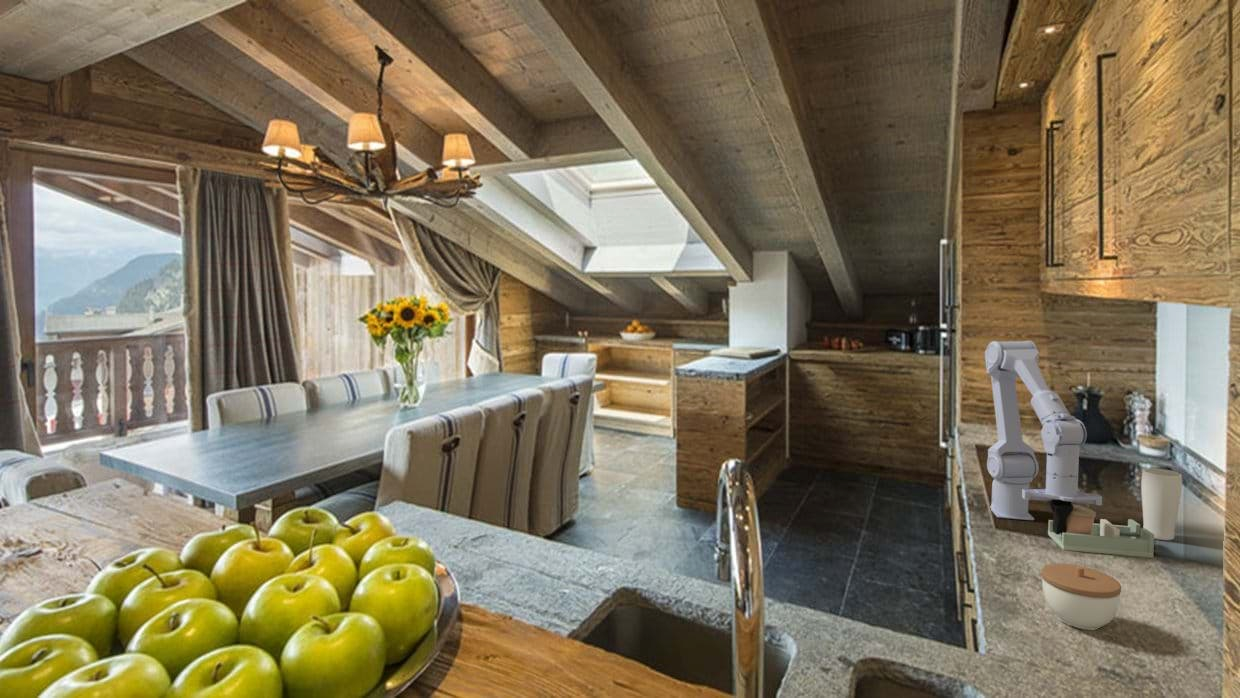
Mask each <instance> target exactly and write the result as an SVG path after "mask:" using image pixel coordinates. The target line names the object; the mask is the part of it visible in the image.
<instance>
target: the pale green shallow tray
mask: <svg viewBox="0 0 1240 698" xmlns="http://www.w3.org/2000/svg"><path fill="white" fill-rule="evenodd" d="M1113 525H1114V526H1115V527H1116V528H1118V529H1119V530H1120V531H1126V532H1139V533H1141V537H1130V536H1119V537H1111V536H1100V523H1094V522H1093V527H1092V532H1091V535H1087V534H1074V533H1062V536H1061V534H1060V535H1058V534H1055V533H1054V532H1053V519H1048V529H1047V535H1048V536H1049V537H1050V538H1051V539H1052V540H1053V541H1054V542H1055V543H1056V544H1057V545H1058V546H1059V547H1060V548H1061V549H1062V550H1064V551H1073V552H1084V553H1085V552H1086V553H1093V554H1095V553H1096V554H1104V555H1105V554H1108V555H1118V556H1127V557H1128V556H1130V557H1138V558H1139V557H1141V558H1151V559H1154V556H1155V555H1154V550H1155V549H1154V548H1155V539H1154V534H1153V533H1151V532H1150V531H1148V530H1147V529H1145V528H1143V527H1141V524H1140V523H1138V522H1137V521H1135V520H1134V519H1132V518H1129V519H1127V525H1120V524H1119V525H1118V524H1113Z"/></svg>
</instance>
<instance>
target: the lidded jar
mask: <svg viewBox="0 0 1240 698" xmlns="http://www.w3.org/2000/svg"><path fill="white" fill-rule="evenodd" d="M1040 571H1041V588H1042V594H1043V598H1044V600H1045V603H1046V605H1047V606H1048V608H1049V609H1050V611H1051V612H1052V613H1053V614H1054V615H1055V616H1056V618H1057V619H1058V620H1059V621H1060V622H1061V621H1062V623H1063V622H1064V623H1063V624H1065V623H1066V624H1065V625H1067V624H1068V625H1067V626H1069V625H1071V626H1070V627H1072V626H1074V627H1073V628H1075V627H1078V628H1083V629H1098V628H1100V627H1101V628H1102V627H1103V626H1105V625H1107V624H1110V623H1111V621H1113V619H1114V618H1115V617H1116V615H1117V614H1118V613H1117V612H1118V610H1119V605H1120V601H1121V600H1120V599H1121V592H1122V585H1121V583H1120V581H1118V580H1117V579H1115V578H1114V577H1113V576H1111V575H1109V574H1107V573H1105V572H1102V571H1099V570H1096V569H1094V568H1090V567H1087V566H1082V565H1078V564H1077V565H1076V564H1072V563H1071V564H1070V563H1051V564H1047V565H1044V566H1043V567H1042V568H1041V570H1040ZM1078 628H1077V629H1078ZM1101 628H1100V629H1101ZM1083 629H1082V630H1083ZM1098 630H1099V629H1098Z"/></svg>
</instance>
